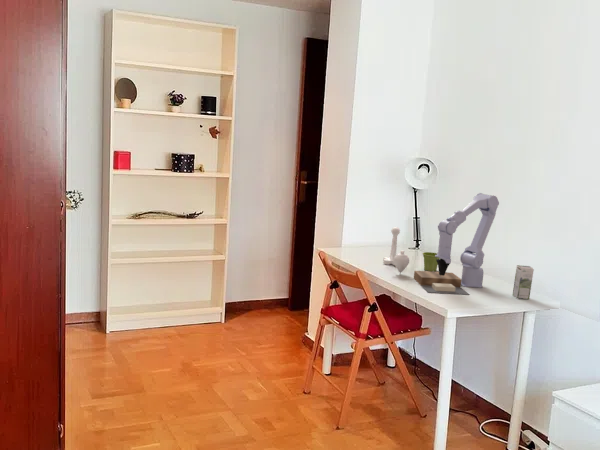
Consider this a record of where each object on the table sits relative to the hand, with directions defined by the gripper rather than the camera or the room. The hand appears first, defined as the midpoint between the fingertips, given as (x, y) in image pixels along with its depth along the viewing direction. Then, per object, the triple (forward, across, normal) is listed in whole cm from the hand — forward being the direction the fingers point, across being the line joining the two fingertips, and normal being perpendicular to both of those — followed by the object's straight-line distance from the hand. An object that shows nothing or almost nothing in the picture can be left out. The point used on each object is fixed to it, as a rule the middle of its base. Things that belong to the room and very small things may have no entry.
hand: (441, 275), depth 289 cm
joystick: (+6, -44, -14) cm, 46 cm away
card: (+3, +5, 0) cm, 6 cm away
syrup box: (+6, +12, +34) cm, 36 cm away
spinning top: (+6, -21, -14) cm, 26 cm away
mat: (+6, +5, 0) cm, 8 cm away
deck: (+6, -7, 0) cm, 9 cm away
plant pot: (+6, -34, +5) cm, 35 cm away
